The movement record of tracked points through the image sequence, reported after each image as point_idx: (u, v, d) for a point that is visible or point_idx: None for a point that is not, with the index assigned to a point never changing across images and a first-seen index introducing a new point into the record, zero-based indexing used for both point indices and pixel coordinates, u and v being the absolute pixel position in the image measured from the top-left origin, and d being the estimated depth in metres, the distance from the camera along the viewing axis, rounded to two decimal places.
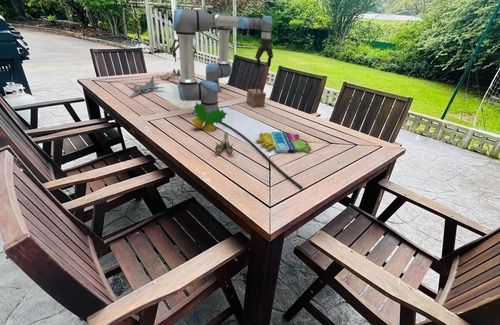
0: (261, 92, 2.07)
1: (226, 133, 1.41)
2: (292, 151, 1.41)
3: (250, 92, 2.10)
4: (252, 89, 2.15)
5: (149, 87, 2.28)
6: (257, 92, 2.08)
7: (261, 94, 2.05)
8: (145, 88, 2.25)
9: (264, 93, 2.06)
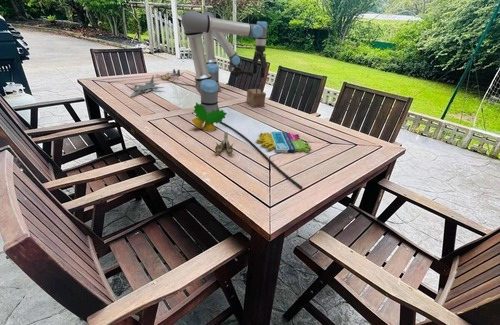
0: (261, 92, 2.07)
1: (226, 133, 1.41)
2: (292, 151, 1.41)
3: (250, 92, 2.10)
4: (252, 89, 2.15)
5: (149, 87, 2.28)
6: (257, 92, 2.08)
7: (261, 94, 2.05)
8: (145, 88, 2.25)
9: (264, 93, 2.06)
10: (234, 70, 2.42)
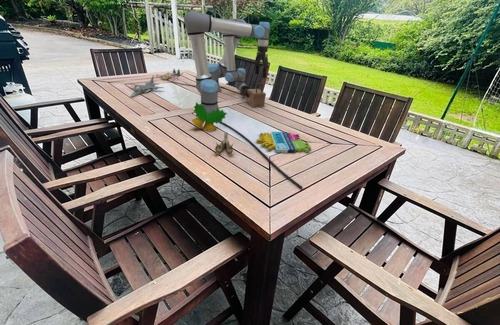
0: (261, 92, 2.07)
1: (226, 133, 1.41)
2: (292, 151, 1.41)
3: (250, 92, 2.10)
4: (252, 89, 2.15)
5: (149, 87, 2.28)
6: (257, 92, 2.08)
7: (261, 94, 2.05)
8: (145, 88, 2.25)
9: (264, 93, 2.06)
10: (242, 89, 2.28)
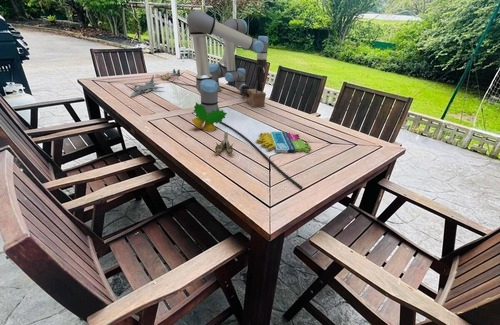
0: (261, 92, 2.07)
1: (226, 133, 1.41)
2: (292, 151, 1.41)
3: (250, 92, 2.10)
4: (252, 89, 2.15)
5: (149, 87, 2.28)
6: (257, 92, 2.08)
7: (261, 94, 2.05)
8: (145, 88, 2.25)
9: (264, 93, 2.06)
10: (242, 89, 2.28)
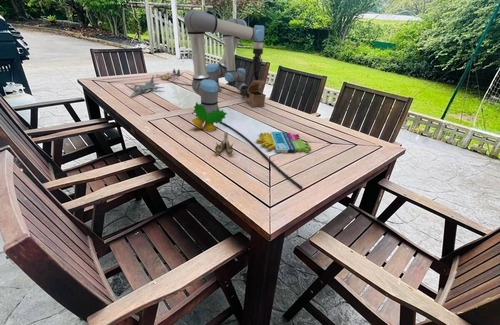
0: None
1: (226, 133, 1.41)
2: (292, 151, 1.41)
3: (250, 86, 2.09)
4: None
5: (149, 87, 2.28)
6: None
7: (260, 81, 2.04)
8: (145, 88, 2.25)
9: (263, 80, 2.05)
10: (242, 89, 2.28)
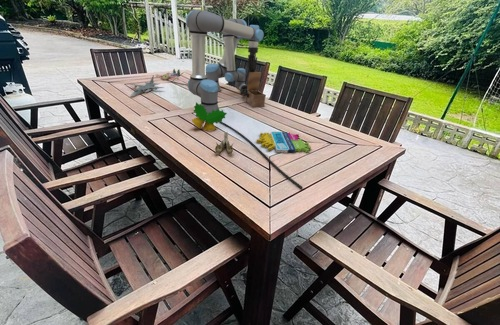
0: None
1: (226, 133, 1.41)
2: (292, 151, 1.41)
3: (248, 82, 2.10)
4: None
5: (149, 87, 2.28)
6: None
7: (256, 72, 2.08)
8: (145, 88, 2.25)
9: (259, 72, 2.09)
10: (242, 89, 2.28)
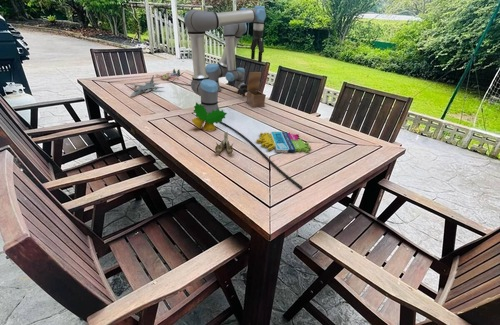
0: None
1: (226, 133, 1.41)
2: (292, 151, 1.41)
3: (248, 82, 2.10)
4: None
5: (149, 87, 2.28)
6: None
7: (256, 72, 2.08)
8: (145, 88, 2.25)
9: (259, 72, 2.09)
10: (241, 88, 2.31)
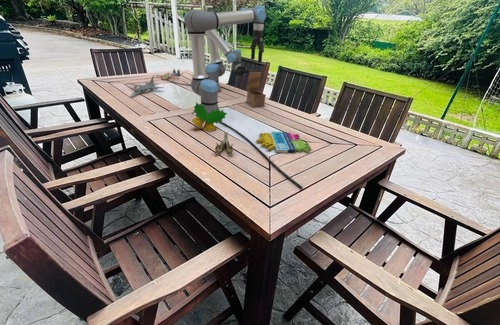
0: None
1: (226, 133, 1.41)
2: (292, 151, 1.41)
3: (248, 82, 2.10)
4: None
5: (149, 87, 2.28)
6: None
7: (256, 72, 2.08)
8: (145, 88, 2.25)
9: (259, 72, 2.09)
10: (238, 69, 2.32)
